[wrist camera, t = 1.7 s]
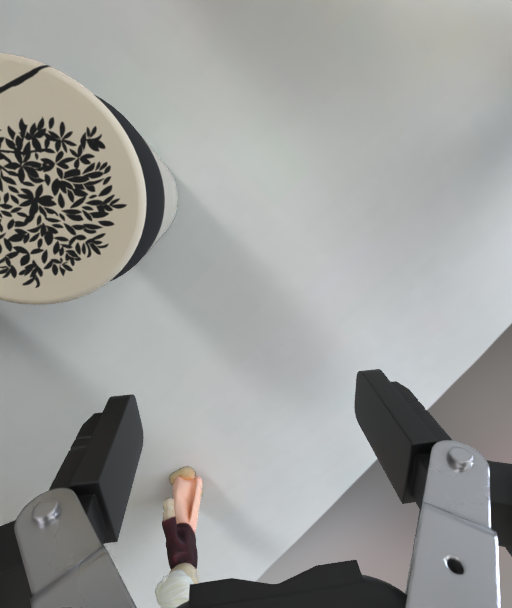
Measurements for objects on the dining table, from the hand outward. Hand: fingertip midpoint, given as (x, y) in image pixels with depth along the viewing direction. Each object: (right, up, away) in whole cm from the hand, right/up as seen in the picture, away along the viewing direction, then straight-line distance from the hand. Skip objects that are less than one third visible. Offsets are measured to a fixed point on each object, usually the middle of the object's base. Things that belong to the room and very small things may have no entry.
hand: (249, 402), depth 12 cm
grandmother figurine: (-7, -15, +24) cm, 30 cm away
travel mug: (-10, +12, +15) cm, 22 cm away
